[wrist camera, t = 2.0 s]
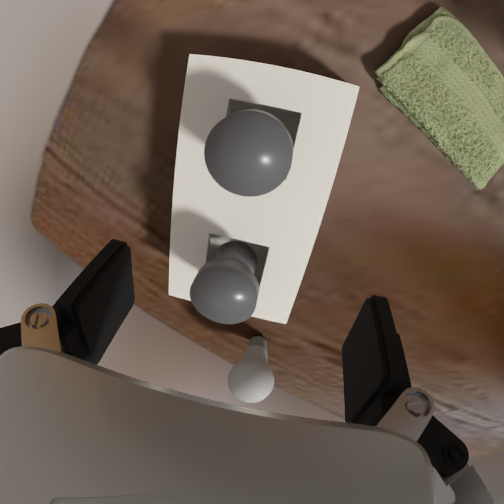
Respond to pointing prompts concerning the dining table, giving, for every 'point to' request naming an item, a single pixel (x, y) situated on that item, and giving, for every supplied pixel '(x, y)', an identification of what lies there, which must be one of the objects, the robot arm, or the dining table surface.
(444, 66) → the washcloth
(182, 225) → the box
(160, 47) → the dining table surface
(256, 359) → the lightbulb
